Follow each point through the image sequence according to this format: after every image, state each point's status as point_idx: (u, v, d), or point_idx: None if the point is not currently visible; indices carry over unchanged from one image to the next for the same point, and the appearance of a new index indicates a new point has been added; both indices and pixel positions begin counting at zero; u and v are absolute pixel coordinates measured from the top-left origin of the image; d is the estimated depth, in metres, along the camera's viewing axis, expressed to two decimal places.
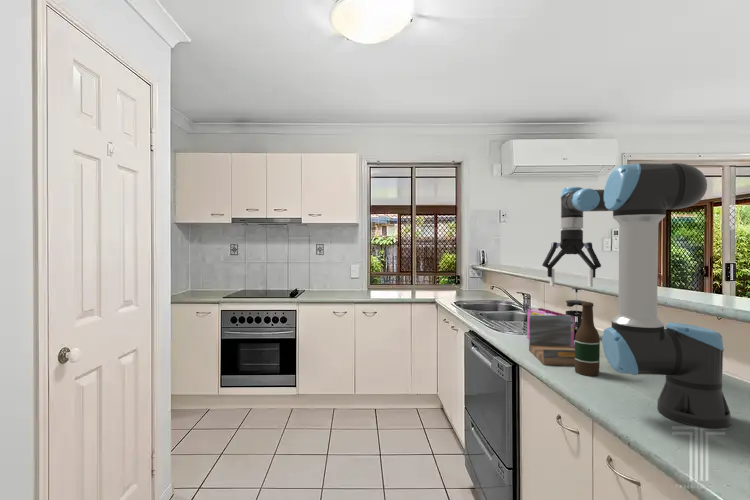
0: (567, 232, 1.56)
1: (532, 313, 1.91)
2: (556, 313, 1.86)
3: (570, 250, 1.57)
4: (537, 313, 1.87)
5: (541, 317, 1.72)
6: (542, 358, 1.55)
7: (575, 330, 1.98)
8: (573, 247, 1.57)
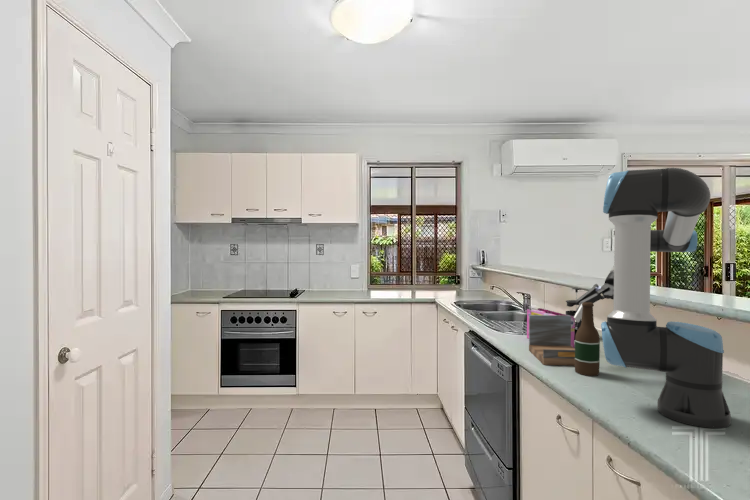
0: (608, 274, 1.54)
1: (532, 313, 1.90)
2: (556, 313, 1.86)
3: (607, 292, 1.51)
4: (537, 313, 1.87)
5: (541, 317, 1.72)
6: (542, 358, 1.55)
7: (575, 330, 1.98)
8: (611, 289, 1.51)
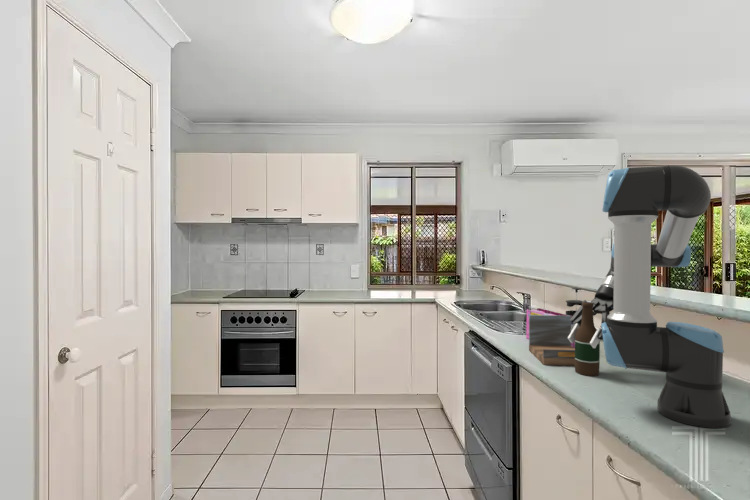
0: None
1: (532, 313, 1.90)
2: (556, 313, 1.86)
3: (597, 307, 1.48)
4: (537, 313, 1.86)
5: (541, 317, 1.72)
6: (542, 358, 1.55)
7: None
8: (601, 303, 1.47)
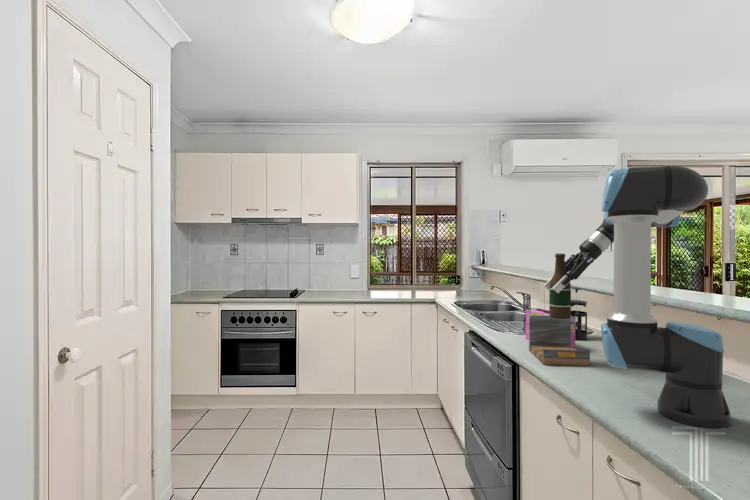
0: None
1: (532, 313, 1.89)
2: None
3: (576, 259, 1.60)
4: (537, 313, 1.86)
5: (541, 317, 1.72)
6: (542, 358, 1.55)
7: (575, 330, 1.98)
8: None
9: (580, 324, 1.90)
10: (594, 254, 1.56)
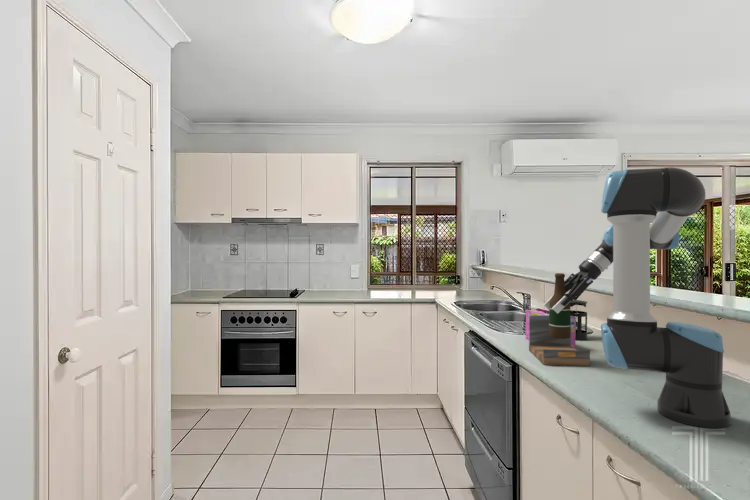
0: None
1: (532, 313, 1.89)
2: None
3: (575, 278, 1.61)
4: (537, 314, 1.86)
5: (541, 317, 1.72)
6: (542, 358, 1.55)
7: None
8: None
9: (580, 324, 1.90)
10: (593, 274, 1.57)
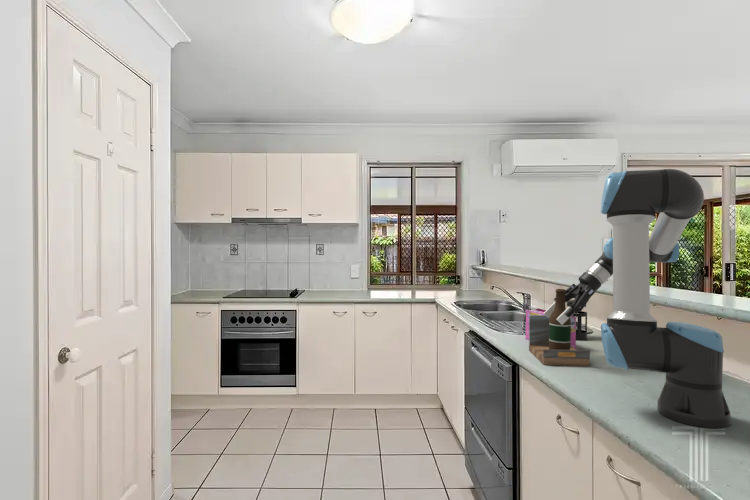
0: None
1: (532, 313, 1.89)
2: None
3: (575, 290, 1.61)
4: (537, 314, 1.86)
5: (541, 317, 1.72)
6: (542, 358, 1.55)
7: None
8: None
9: (580, 324, 1.90)
10: (593, 287, 1.56)
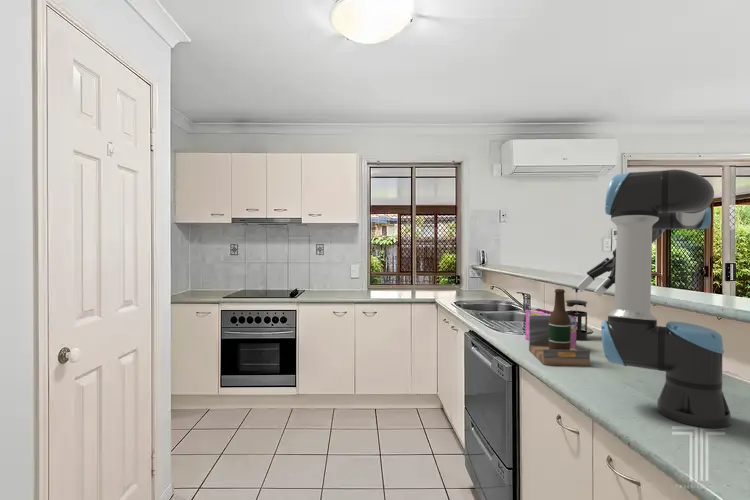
0: None
1: (532, 313, 1.89)
2: None
3: (610, 264, 1.60)
4: (537, 314, 1.85)
5: (541, 317, 1.72)
6: (542, 358, 1.55)
7: None
8: None
9: (580, 324, 1.90)
10: None
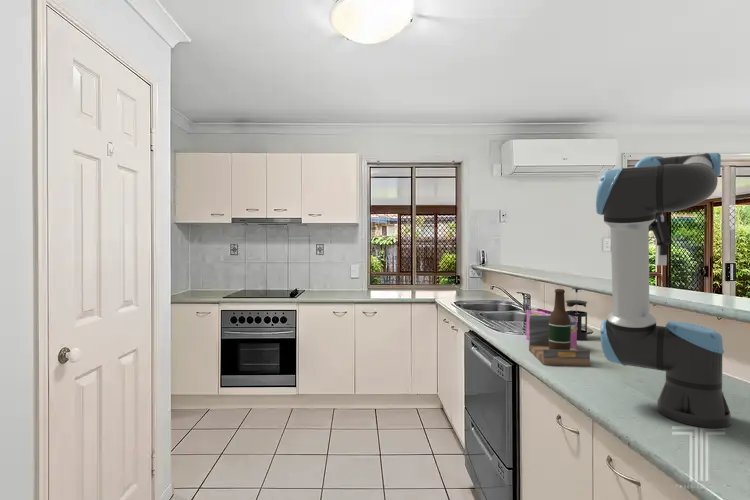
0: None
1: (532, 313, 1.89)
2: None
3: None
4: (538, 314, 1.85)
5: (541, 317, 1.72)
6: (542, 358, 1.55)
7: None
8: None
9: (580, 324, 1.90)
10: (659, 211, 1.43)
